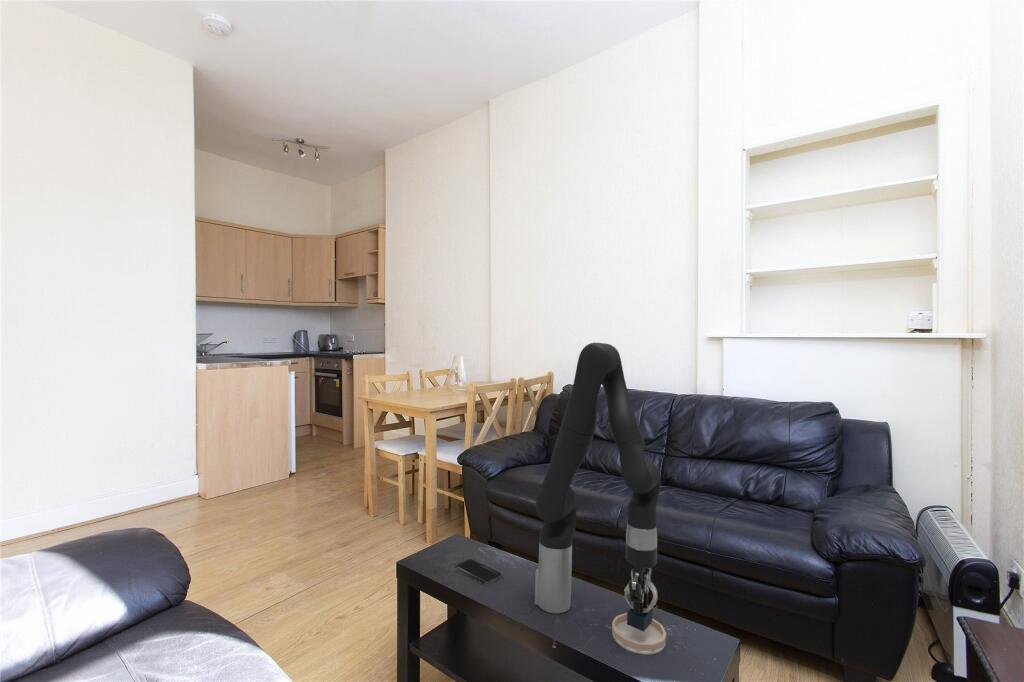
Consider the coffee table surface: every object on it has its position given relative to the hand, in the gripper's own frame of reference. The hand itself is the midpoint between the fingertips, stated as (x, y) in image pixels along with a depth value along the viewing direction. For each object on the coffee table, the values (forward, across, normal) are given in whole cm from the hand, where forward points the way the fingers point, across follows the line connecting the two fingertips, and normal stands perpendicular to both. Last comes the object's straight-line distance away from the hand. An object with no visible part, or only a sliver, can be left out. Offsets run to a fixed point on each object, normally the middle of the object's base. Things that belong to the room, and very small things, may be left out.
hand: (640, 611), depth 112 cm
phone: (+7, -4, -52) cm, 53 cm away
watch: (+3, 0, 0) cm, 3 cm away
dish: (+6, 0, 0) cm, 6 cm away
